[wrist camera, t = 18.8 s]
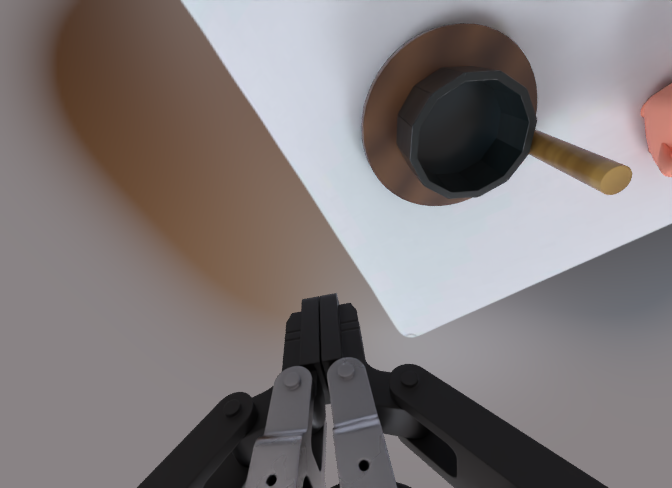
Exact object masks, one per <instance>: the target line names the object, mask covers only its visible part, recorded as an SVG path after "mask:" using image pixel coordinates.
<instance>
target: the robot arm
mask: <svg viewBox="0 0 672 488" xmlns="http://www.w3.org/2000/svg"><path fill="white" fill-rule="evenodd" d="M326 404H331V407H332V415H333V423H334V428H333V438H334V446H335V453H336V461H337V469H338V476H339V484H338V485H335V486H333V487H331V488H411V487H409V486H407V485H404V484H401V483H397V482H396V481H395V477H394V474H393V470H392V466H391V462H390V458H389V454H388V450H387V447H386V443H385V439H384V435H383V433H384V434H390V435H395V436H398V437H399V439H400V440H401V442H403V443H404V444H405V445H406V446H407V447H408V448H409V449H410V450H412V451H413V452H414V453H415V454H416V455H417V456H419V457H420V458H421V459H422V460H423V461H424V462H426V463H427V464H428V465H429V466H430V467H431V468H432V469H433V470H435V471H436V472H437V473H438V474H439V475H440V476H442V477H443V478H444V479H445V480H446V481H447V482H448V483H450V484H451V485H452V486H453V487H454V488H608V487H607V486H605V485H603V484H602V483H600V482H599V481H597V480H596V479H594V478H593V477H591V476H590V475H588V474H586V473H585V472H583V471H582V470H580V469H578V468H577V467H576V466H574V465H572V464H571V463H569V462H567V461H566V460H565V459H563V458H562V457H560V456H558V455H557V454H555V453H554V452H552V451H551V450H549V449H548V448H546V447H544V446H543V445H541V444H539V443H538V442H537V441H535V440H533V439H532V438H530V437H529V436H527V435H526V434H524V433H523V432H521V431H520V430H518V429H517V428H515V427H513V426H512V425H510V424H509V423H507V422H506V421H504V420H502V419H501V418H499V417H498V416H496V415H494V414H493V413H492V412H490V411H489V410H487V409H485V408H484V407H482V406H481V405H479V404H477V403H476V402H475V401H473V400H471V399H470V398H468V397H467V396H465V395H464V394H462V393H461V392H459V391H457V390H456V389H454V388H452V387H451V386H450V385H448V384H447V383H445V382H443V381H442V380H440V379H439V378H437V377H435V376H434V375H433V374H431V373H429V372H428V371H426V370H425V369H423V368H421V367H420V366H417V365H414V364H404V365H401V366H398V367H396V368H395V369H394V370H393V371H392V372H384V371H379V370H376V369H374V368H372V367H371V366H370V365H368V364H367V362H366V360H365V354H364V348H363V342H362V336H361V331H360V326H359V322H358V316H357V311H356V309H355V308H354V307H353V306H352V304H351V303H346V304H341V305H339V301H338V297H337V294H336V293H335V294H329V295H323V296H320V298H319V296H318V297H313V298H307V299H303V300H302V309H301V312H297V313H292V314H291V316H290V318H289V319H288V321H287V323H286V334H285V344H284V356H283V366H282V372H281V373H280V374H279V375H278V376H277V378H276V380H275V382H274V386H272V387H271V388H270V389H269V390H267V391H265V392H263V393H261V394H259V395H257V396H254V397H253V398H251V397H250V395H248V394H247V393H244V392H236V393H232V394H230V395H228V396H226V397H225V398H224V399H223V400H221V401H220V402H219V403H218V404H217V405H216V406H215V408H214V409H213V410H212V411H211V412H210V413H209V414H208V415H207V416H206V417H205V418H204V419H203V420H202V421H201V422H200V423H199V424H198V425H197V426H196V427H195V428H194V429H193V430H192V431H191V432H190V434H188V435H187V436H186V437H185V438H184V440H183V441H182V442H181V443H180V444H179V445H178V446H177V447H176V448H175V449H174V450H173V451H172V452H171V453H170V454H169V455H168V456H167V457H166V458H165V459H164V460H163V462H161V463H160V464H159V465H158V466H157V467H156V468H155V470H154V471H153V472H152V473H151V474H150V475H149V476H148V477H147V478H146V479H145V480H144V481H143V482H142V483H141V484H140V485H139V486H138V487H137V488H326V485H325V456H326V430H327V423H326V419H325V417H326V413H325V405H326Z"/></svg>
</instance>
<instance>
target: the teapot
mask: <svg viewBox="0 0 672 488" xmlns="http://www.w3.org/2000/svg"><path fill="white" fill-rule="evenodd" d="M641 116H642V117H643V118H644V120H645V133H646V139H647V143H648V146H649V152H650V153H651V154H652V157H653V159H654V161H655V163H656V164H657V166H658V167H659V169H660V171H661V173H662V174H664V175H665V176H668V177H672V83H671V84H669V85H668V86H666V87H665V88H663V89H662V90H660V91H659V92H657V93H656V94H654V95H653V96H651V97H650V98H649V99H648V100H647V102H646V103H645V104H644V105H643V107H642V108H641Z"/></svg>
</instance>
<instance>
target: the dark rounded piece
mask: <svg viewBox="0 0 672 488" xmlns="http://www.w3.org/2000/svg"><path fill="white" fill-rule="evenodd" d="M536 111H537V87H536V82H535V77H534V73H533V71H532V68H531V66H530V63H529V61H528V60H527V58H526V56H525V54H524V53H523V52H522V50H521V49H520V48H519V47H518V45H517V44H516V43H515V42H513V41H512V40H511V39H510V38H509V37H508V36H506V35H504V34H503V33H501V32H499V31H498V30H495V29H492V28H490V27H487V26H483V25H478V24H466V23H460V24H452V25H444V26H440V27H437V28H433V29H430V30H428V31H426V32H424V33H421V34H419V35H417V36H416V37H414V38H413V39H411V40H409V41H408V42H406V43H405V44H404V45H403V46H401V47H400V48H399V49H398V50H397V51H396V52H395V53H394V54H393V55H392V56H391V57H390V58H389V59H388V60H387V61H386V63H385V64H384V65H383V66H382V68H381V69H380V71H379V72H378V74H377V76H376V77H375V79H374V81H373V83H372V85H371V87H370V89H369V92H368V94H367V97H366V101H365V104H364V109H363V114H362V126H361V131H362V141H363V146H364V151H365V154H366V157H367V160H368V162H369V164H370V166H371V168H372V170H373V172H374V173H375V175H376V176H377V178H378V179H379V180H380V182H381V183H382V184H383V185H384V186H385V187H386V188H387V189H388V190H390V191H391V192H392V193H394V194H395V195H397V196H399V197H400V198H402V199H404V200H407V201H409V202H412V203H416V204H420V205H427V206H443V205H451V204H455V203H459V202H462V201H465V200H468V199H470V198H472V197H478V196H481V195H483V194H485V193H487V192H488V191H490V190H492V189H494V188H496V187H497V186H499V185H501V184H503V183H505V182H506V181H507V180H509V178H510V177H511V176H512V175H513V173H514V172H515V171H516V169H517V168H518V167H519V166H520V164H521V163H522V162H523V161H524V159H525V158H526V157H527V155H528V154H530V155H531V156H533V157H535V158H537V159H539V160H541V161H543V162H545V163H547V164H549V165H551V166H552V167H554V168H556V169H558V170H560V171H562V172H564V173H566V174H568V175H570V176H572V177H573V178H575V179H577V180H579V181H581V182H583V183H585V184H587V185H589V186H591V187H593V188H594V189H596V190H598V191H600V192H602V193H604V194H607V195H613V194H616V193H619V192H620V191H622V190H623V189H625V188H626V187H627V185H628V184H629V183H630V181H631V178H632V171H631V169H630V168H629V167H628V166H625V165H623V164H620V163H618V162H615V161H613V160H610V159H608V158H605V157H603V156H600V155H598V154H595V153H593V152H590V151H588V150H585V149H583V148H580V147H578V146H575V145H573V144H570V143H568V142H565V141H563V140H560V139H558V138H555V137H552V136H550V135H547V134H545V133H542V132H540V131H537V130H535V127H536V123H537V120H536V119H537V118H536Z"/></svg>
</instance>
